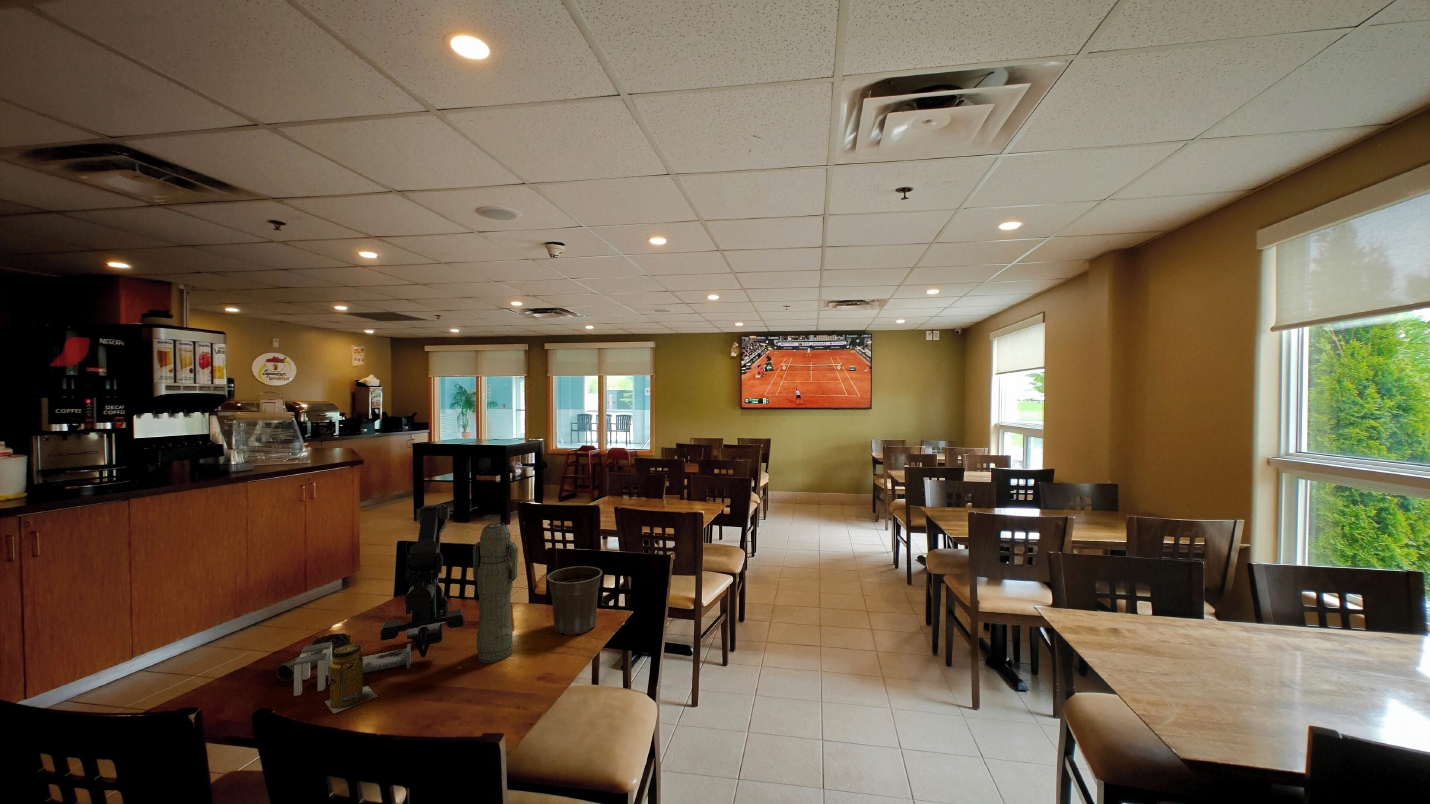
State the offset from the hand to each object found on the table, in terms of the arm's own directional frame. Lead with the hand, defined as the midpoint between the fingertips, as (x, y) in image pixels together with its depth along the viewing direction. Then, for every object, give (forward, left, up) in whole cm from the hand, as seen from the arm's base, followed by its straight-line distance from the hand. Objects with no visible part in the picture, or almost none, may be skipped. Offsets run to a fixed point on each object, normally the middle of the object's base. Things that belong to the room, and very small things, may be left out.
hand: (423, 656), depth 135 cm
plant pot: (-40, -3, -1) cm, 40 cm away
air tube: (+11, 0, -1) cm, 11 cm away
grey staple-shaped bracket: (+23, 0, -1) cm, 23 cm away
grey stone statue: (-17, +5, -1) cm, 18 cm away
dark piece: (+25, -12, -2) cm, 28 cm away
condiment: (+14, +13, -2) cm, 19 cm away
